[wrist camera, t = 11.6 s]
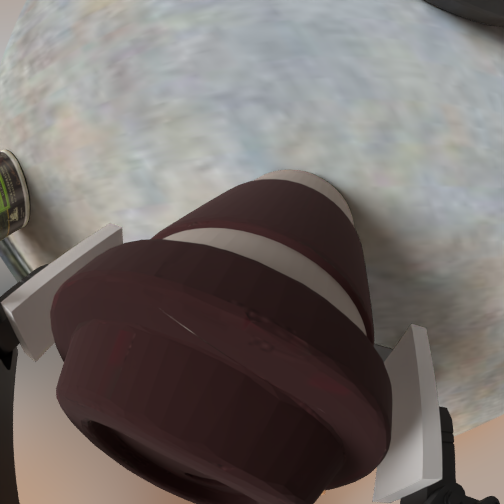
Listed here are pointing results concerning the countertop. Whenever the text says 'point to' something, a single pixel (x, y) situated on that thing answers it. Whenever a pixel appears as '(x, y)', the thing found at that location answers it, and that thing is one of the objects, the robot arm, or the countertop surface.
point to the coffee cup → (231, 349)
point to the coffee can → (12, 195)
